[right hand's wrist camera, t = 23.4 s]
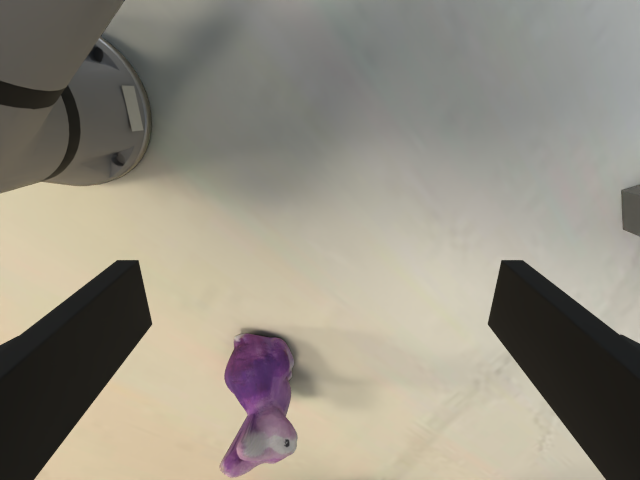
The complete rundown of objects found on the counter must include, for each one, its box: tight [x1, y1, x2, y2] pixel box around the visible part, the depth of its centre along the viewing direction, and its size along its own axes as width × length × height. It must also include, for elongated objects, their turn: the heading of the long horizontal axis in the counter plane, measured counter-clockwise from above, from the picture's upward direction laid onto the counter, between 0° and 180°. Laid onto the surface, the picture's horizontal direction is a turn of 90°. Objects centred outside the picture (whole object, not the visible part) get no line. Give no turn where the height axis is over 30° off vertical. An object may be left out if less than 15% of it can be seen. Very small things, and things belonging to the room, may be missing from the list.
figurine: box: [220, 333, 297, 477], centre depth 40 cm, size 9×10×15 cm
